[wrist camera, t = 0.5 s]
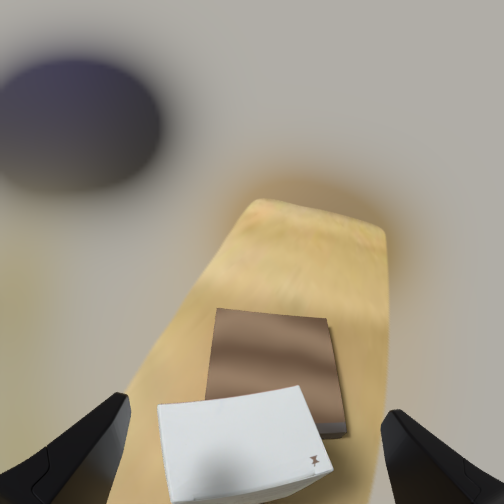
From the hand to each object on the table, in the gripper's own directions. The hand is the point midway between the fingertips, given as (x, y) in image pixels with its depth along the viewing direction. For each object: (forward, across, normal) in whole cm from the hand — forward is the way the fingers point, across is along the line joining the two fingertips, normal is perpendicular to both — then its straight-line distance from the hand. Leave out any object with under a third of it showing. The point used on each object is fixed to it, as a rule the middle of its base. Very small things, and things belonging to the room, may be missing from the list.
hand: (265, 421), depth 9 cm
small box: (+5, 0, +15) cm, 16 cm away
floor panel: (+16, -4, +12) cm, 20 cm away
